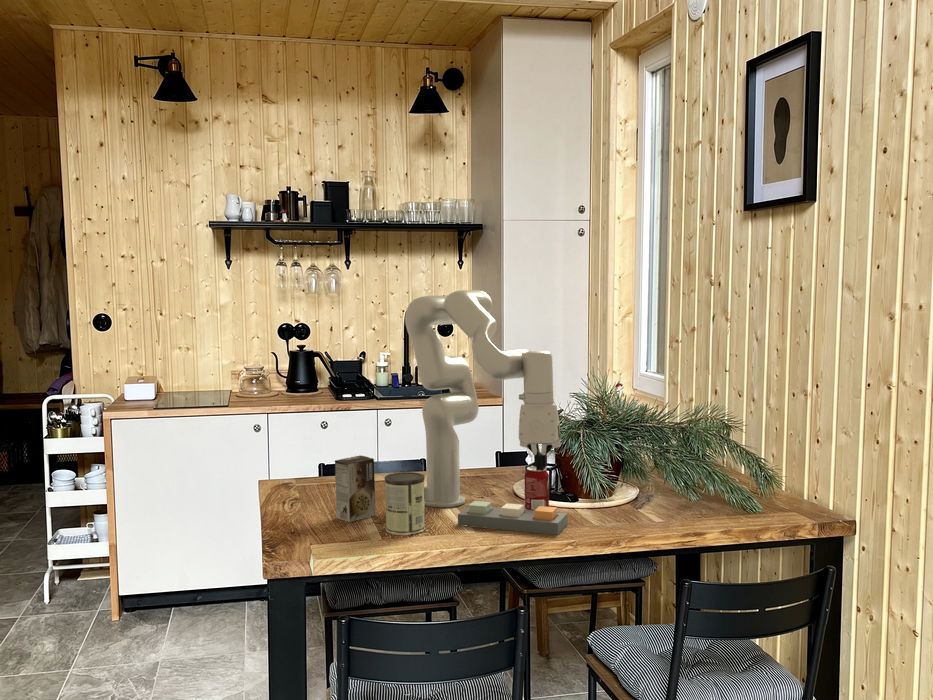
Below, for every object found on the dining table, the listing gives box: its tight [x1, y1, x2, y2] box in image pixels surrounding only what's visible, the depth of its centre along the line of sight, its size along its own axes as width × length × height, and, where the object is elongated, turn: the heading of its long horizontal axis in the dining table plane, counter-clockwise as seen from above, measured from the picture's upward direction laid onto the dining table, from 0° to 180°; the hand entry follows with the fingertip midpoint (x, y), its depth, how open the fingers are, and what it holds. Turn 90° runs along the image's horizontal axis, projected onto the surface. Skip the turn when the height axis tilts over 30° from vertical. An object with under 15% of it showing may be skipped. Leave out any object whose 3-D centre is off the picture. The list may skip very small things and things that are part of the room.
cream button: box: [500, 502, 525, 517], centre depth 232 cm, size 5×5×2 cm
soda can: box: [524, 465, 550, 510], centre depth 246 cm, size 7×7×12 cm
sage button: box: [468, 500, 493, 515], centre depth 235 cm, size 5×5×2 cm
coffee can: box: [384, 471, 426, 535], centre depth 228 cm, size 10×10×14 cm
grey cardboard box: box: [334, 455, 377, 523], centre depth 241 cm, size 9×6×16 cm
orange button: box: [534, 506, 558, 520], centre depth 229 cm, size 5×5×2 cm
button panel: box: [457, 506, 568, 536], centre depth 232 cm, size 27×10×3 cm, turn 70°
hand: (540, 469), depth 228 cm, fingers closed
